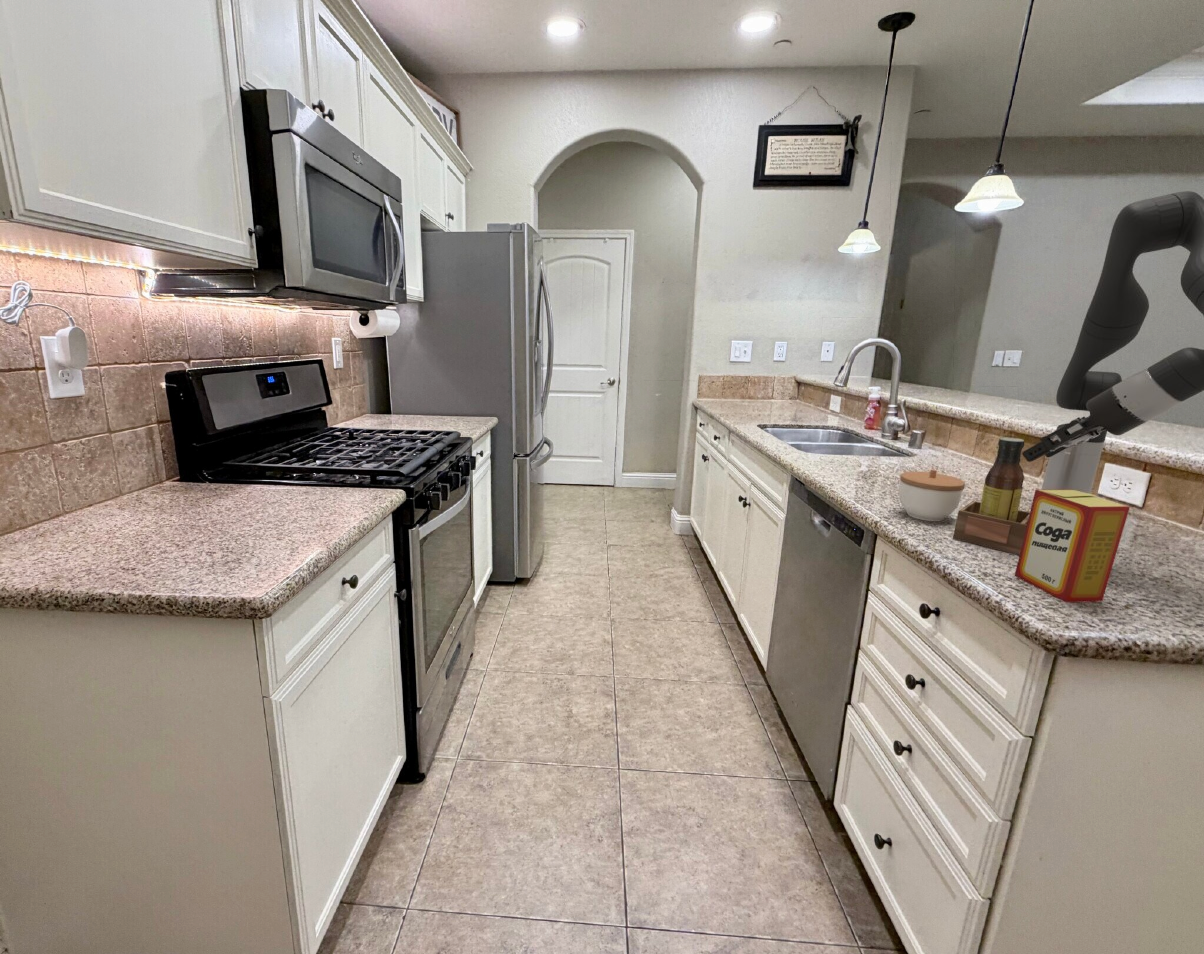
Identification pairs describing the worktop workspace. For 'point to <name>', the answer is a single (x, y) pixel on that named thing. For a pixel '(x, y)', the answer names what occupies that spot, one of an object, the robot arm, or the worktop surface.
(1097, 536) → the baking soda box
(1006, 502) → the sauce bottle
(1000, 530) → the wooden compartment tray
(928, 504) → the white lidded bowl
